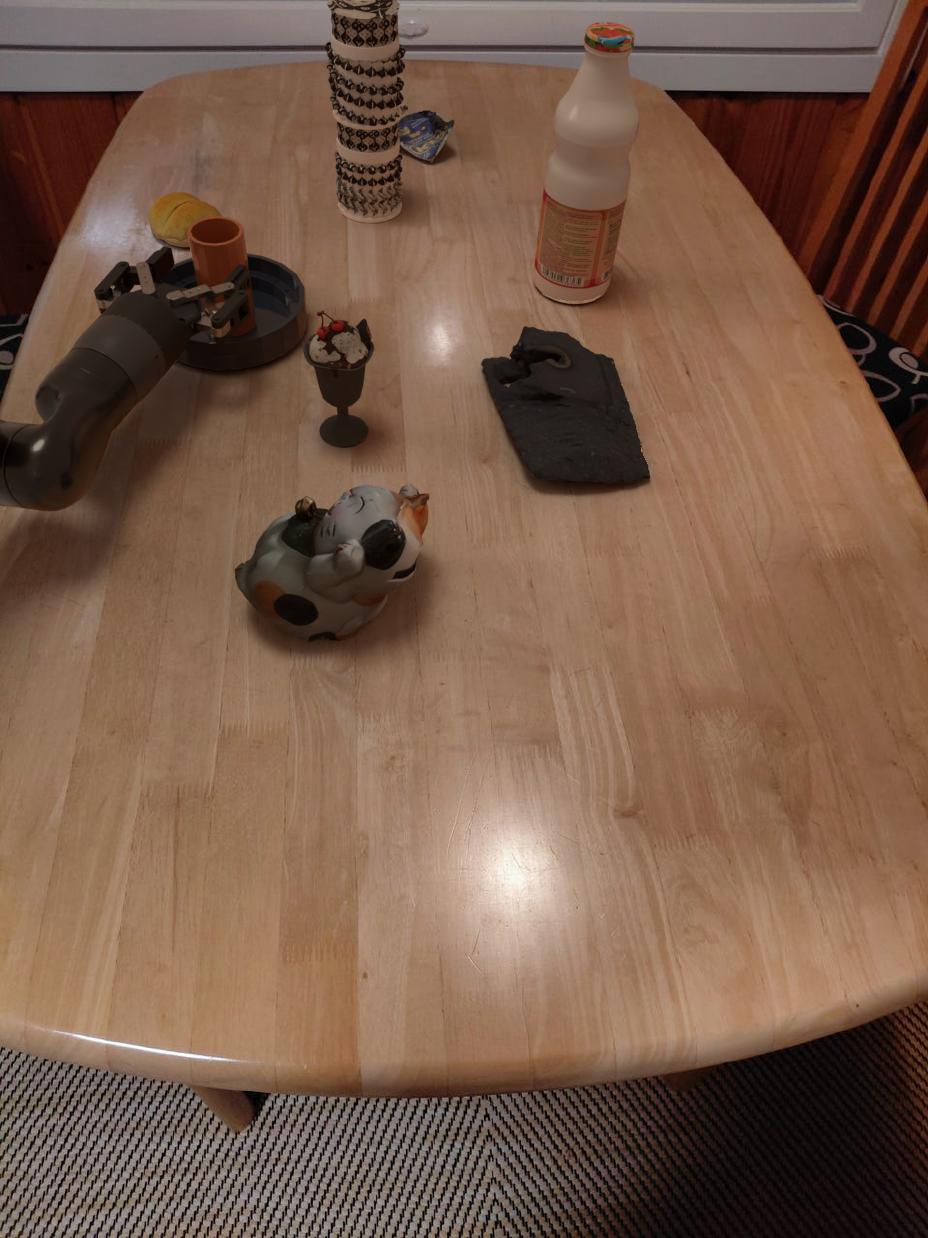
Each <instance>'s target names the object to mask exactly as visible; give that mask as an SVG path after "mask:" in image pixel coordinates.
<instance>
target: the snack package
mask: <svg viewBox="0 0 928 1238" xmlns="http://www.w3.org/2000/svg"><path fill="white" fill-rule="evenodd" d="M399 107H400V108H401V110H402V115H401V120H400V121H398V136H399V138H400V147H402V148H403V149H404V150H405V151H407V152H408V153H410V154H411V155H413V156H414V157H416V158H418V159H420V160H421V159H422V160H424V161H428V162H430V164H433V163H434V160H435V158H436V157H437V155H438V154H439V152H440V151H441V150H442V149H443V148H444V145H445V143H446V142H447V140H448V137H449V135H450V134H451V131H452V130H453V129H454V126H455V120H454V119H451V120H449V121H446V120H444V119H443V118H442V117H441V116H440V115H438V114H437V111H432V110H429V109H427V110H421V111H417V112H412V113H411V114H409V113H408V114H406V115H404V114H405V113H406V112H408V110H409V107H408V105H406V104H404V105H401V106H400V105H399ZM403 115H404V116H403Z"/></svg>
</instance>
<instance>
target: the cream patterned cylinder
mask: <svg viewBox="0 0 928 1238" xmlns="http://www.w3.org/2000/svg"><path fill="white" fill-rule="evenodd" d="M326 5H327V7H328V9H329V10H330V12H331V15H330V22H331V31H330V41H327V42H326V43H325V45H324V49H325V51H326V56H327V57H328V63H327V64H326V69H327V70H328V71H329V76H328V78H327V81H328V83H329V89H330V90H331V95H330V97H329V100H330V102H331V103H332V104H331V106H332V116H333V118H334V120H335V121H336V128H337V135H336V138H335V140H336V141H335V143H336V151H335V152H334V157H335V162H336V163H335V165H334V166H335V169H336V175H337V176H336V178H335V184H336V188H337V189H336V196H337V200H338V203H337V208H338V210H339V212H340V214H341V215H343V216H344V217H346V218H347V219H349V220H352V221H355V222H357V223H366V224H376V223H377V224H378V223H384V222H385V223H386V222H387V221H389V220H392V219H395V218H396V217H397V216H399V214H400V213H402V209H403V202H402V197H403V193H402V192H401V191H402V186H403V184H404V182H403V181H402V172H403V167H402V160H403V154H402V151H401V145H400V138H399V136H398V121H400V120H401V118H402V116H403V114H402V110H401V108H400V105H402V104H403V101H404V100H405V97H404V95H403V93H402V92H401V91H403V90H404V89H403V88H404V86H405V81H404V80H402V78H401V77H400V76H398V75H400V74H402V73H404V70H405V69H406V64H405V63H404V61H403V60H402V59H404V58H405V54H406V52H407V51H406V48H405V47H404V46H403V45H402V44H401V43H400V33H399V28H398V27H399V15H398V14H399V11H400V7H401V4H400V3H399V1H398V0H328V1H327V3H326ZM401 115H402V116H401Z"/></svg>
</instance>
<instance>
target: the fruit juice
mask: <svg viewBox="0 0 928 1238" xmlns="http://www.w3.org/2000/svg"><path fill="white" fill-rule="evenodd" d="M583 41H584V44H583V46H584V47H583V48H584V50H585V53H584V56H583V59H582V61H581V63H580V66H579V69H578V70H577V73H576V75H575V77H574V78H573V81H572V83H571V86H570V87H569V89H568V90H567V92H566V93H565V94H563V96H562V98H561V99H560V100H559V102H558V104H557V105H556V108H555V110H554V111H555V112H554V115H553V119H552V134H553V142H554V147H553V150H552V151H551V153H550V155H549V157H548V160H547V163H546V167H545V168H546V169H545V174H544V181H543V191H542V199H541V208H540V215H539V224H538V230H537V240H536V247H535V258H534V262H533V263H534V264H533V274H532V275H533V283H534V286H535V285H536V286H535V288H536V287H537V288H538V289H539V290H540V291H541V292H542V293H544V294H545V295H547V296H550V297H553V298H555V299H558V300H560V299H561V300H566V301H584V300H589V299H593V298H595V297H597V296H599V295H602V294H603V293H604V292H605V291H606V290H607V291H608V289H609V286H610V283H611V280H612V274H613V269H614V263H615V259H616V254H617V248H618V244H619V238H620V233H621V228H622V223H623V217H624V212H625V207H626V203H627V199H628V195H629V194H628V193H629V188H630V180H631V162H630V154H631V152H632V149H633V147H634V145H635V143H636V140H637V138H638V134H639V129H640V114H639V110H638V107H637V105H636V102H635V99H634V98H635V97H634V95H633V94H634V93H633V89H632V81H631V73H630V72H631V71H630V66H629V56H631V54H632V52H633V48H634V45H635V31H633V30H632V28H630V27H629V26H626V25H624V24H621V23H616V22H612V21H611V22H609V21H601V22H595V23H592V24H590V25H588V26H587V28H586V30H585V33H584V39H583ZM537 288H536V289H537ZM607 288H608V289H607ZM538 289H537V290H538ZM607 291H606V292H607Z"/></svg>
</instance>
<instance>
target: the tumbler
mask: <svg viewBox="0 0 928 1238" xmlns="http://www.w3.org/2000/svg"><path fill="white" fill-rule="evenodd" d="M187 234H188V240H189V245H190V247H189V249H190V255H191V258H192V260H193V266H194V271H195V276H196V281H197V286H201V285H204V284H206V285H208V286H209V287H213V286H216V285H219V284H222V283H224V281H225V279H226V278H227V277H228V276H229V275H230V274H231V273H232V271H233V270H234V269H235V268H236V267H237V266H238V264H242V265H246V266H247V270H248V271H249V266H248V259H247V253H248V252H247V244H246V237H245V232H244V228H243V225H242V224H241V223H240V222H239V221H237V219H234V218H231V217H228V216H222V217H219V216H213V217H206V218H203V219H200V220H197V221H195V222H194V223H193V224H191V225H190V226H189V228H188V230H187ZM249 274H250V273H249ZM250 282H251V280H250ZM247 292H248V298H249V304H250V311H251V315H250V316H249V317H248V319H247V320H246V321H245V322H244V323H243V324H242V325H241V326H240V327H239V328H238V329H237V330H236V332H235V333H234V334H233V335H232V336H231V337H238V336H241V335H244V334H246V333H248V332H250V331H251V330H252V329H253V328H254V326H255V324H256V315H255V308H254V301H253V294H252V287H251V286H250V288H249V289H248V290H247ZM223 301H224V296H223V295H222V296H219V297H217V298H216V299H215V302H216V304H217V303H220V302H223ZM200 302H201V307H202V312H203V311H204V310H205V304H204V299H203V298H200Z"/></svg>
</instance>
